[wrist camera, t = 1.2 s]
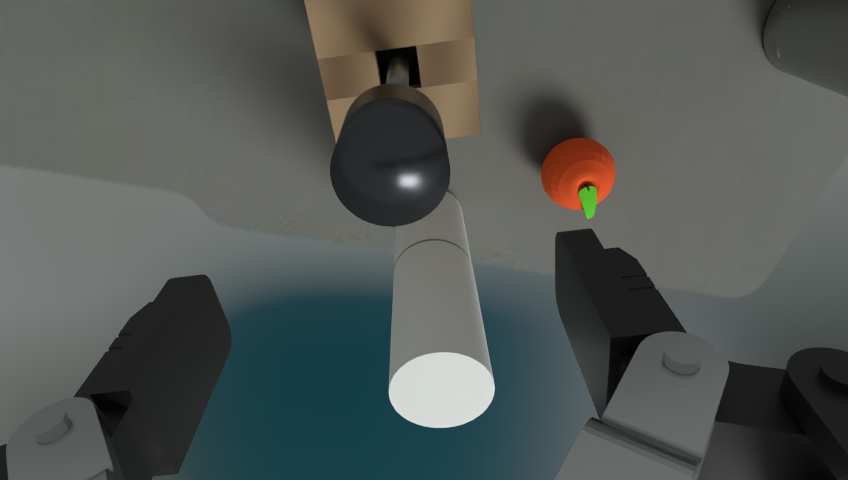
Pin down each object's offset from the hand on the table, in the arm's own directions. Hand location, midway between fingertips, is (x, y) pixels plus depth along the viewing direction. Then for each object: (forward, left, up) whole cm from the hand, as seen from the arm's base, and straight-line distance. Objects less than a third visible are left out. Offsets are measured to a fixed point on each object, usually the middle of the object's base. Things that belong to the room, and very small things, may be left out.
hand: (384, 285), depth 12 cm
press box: (0, 0, -40) cm, 40 cm away
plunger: (0, 0, -30) cm, 30 cm away
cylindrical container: (0, +20, -40) cm, 45 cm away
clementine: (-15, +16, -41) cm, 46 cm away
